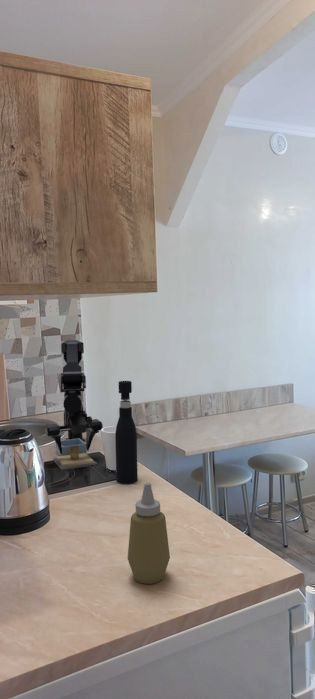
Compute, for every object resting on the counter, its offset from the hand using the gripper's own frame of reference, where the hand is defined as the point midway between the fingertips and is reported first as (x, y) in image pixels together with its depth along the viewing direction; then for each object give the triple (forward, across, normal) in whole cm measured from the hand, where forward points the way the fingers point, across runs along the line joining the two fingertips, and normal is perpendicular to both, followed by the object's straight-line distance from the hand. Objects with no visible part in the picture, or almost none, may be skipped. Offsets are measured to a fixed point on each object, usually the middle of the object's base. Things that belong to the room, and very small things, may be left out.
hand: (74, 452), depth 162 cm
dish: (+4, +2, +11) cm, 12 cm away
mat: (+4, 0, 0) cm, 4 cm away
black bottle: (+4, +10, -25) cm, 27 cm away
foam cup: (+4, +10, -13) cm, 17 cm away
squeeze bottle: (+4, -6, -76) cm, 76 cm away
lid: (+3, 0, 0) cm, 3 cm away
